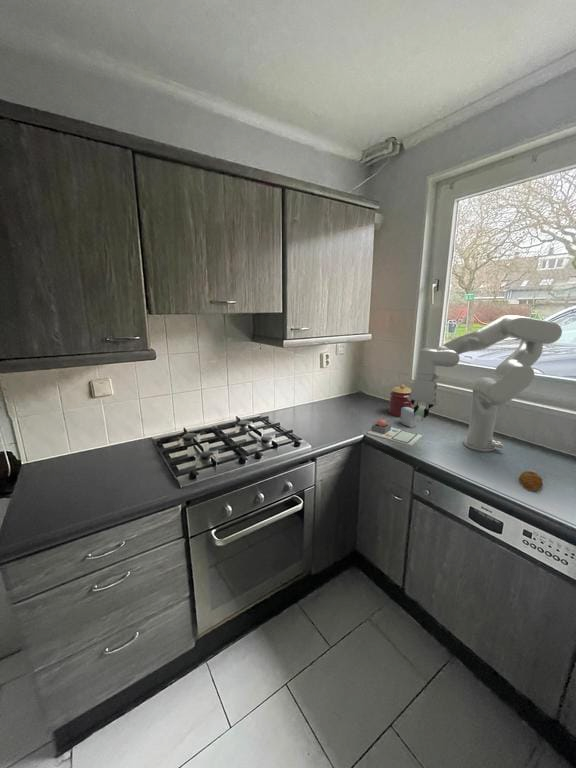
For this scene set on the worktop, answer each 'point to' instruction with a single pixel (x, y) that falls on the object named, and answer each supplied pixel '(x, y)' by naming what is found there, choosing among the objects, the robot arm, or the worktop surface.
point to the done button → (381, 423)
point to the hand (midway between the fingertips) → (420, 415)
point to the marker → (420, 413)
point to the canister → (399, 400)
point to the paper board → (395, 434)
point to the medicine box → (408, 417)
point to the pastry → (531, 481)
